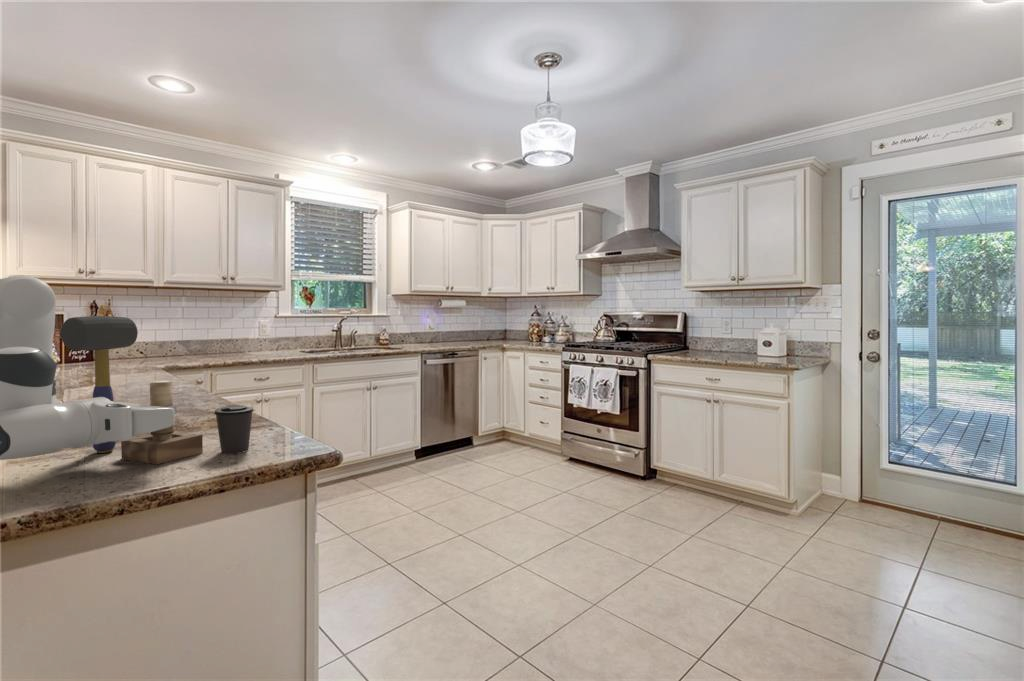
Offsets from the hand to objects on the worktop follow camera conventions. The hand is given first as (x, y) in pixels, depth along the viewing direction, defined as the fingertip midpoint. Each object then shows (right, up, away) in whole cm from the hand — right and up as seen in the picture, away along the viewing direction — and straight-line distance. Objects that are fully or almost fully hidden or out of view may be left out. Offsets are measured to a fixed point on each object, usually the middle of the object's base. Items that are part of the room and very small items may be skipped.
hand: (166, 409), depth 112 cm
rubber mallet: (-15, -10, +2) cm, 18 cm away
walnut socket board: (0, -10, 0) cm, 10 cm away
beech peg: (0, -9, 0) cm, 9 cm away
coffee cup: (+13, -10, +4) cm, 17 cm away
